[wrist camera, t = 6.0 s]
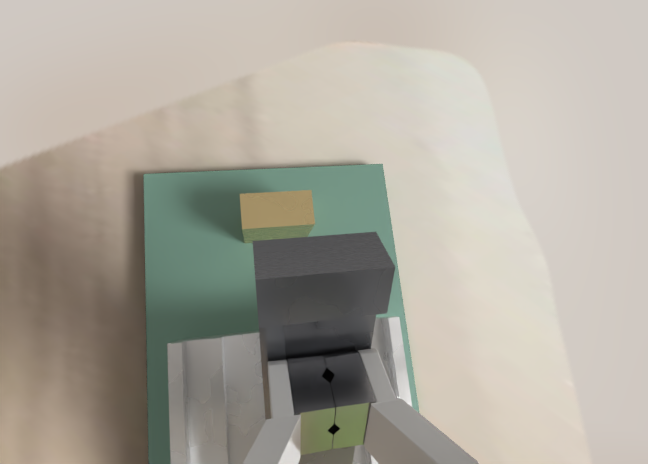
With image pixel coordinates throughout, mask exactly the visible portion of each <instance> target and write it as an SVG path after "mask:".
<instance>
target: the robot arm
mask: <svg viewBox="0 0 648 464" xmlns="http://www.w3.org/2000/svg"><path fill="white" fill-rule="evenodd" d="M268 379H269V396H270V411H271V419H266V421H265V423H264V425H263V427H262V428H261V430H260V432H259V434H258V436H257V438H256V440H255V442H254V443H253V445H252V447H251V449H250V451H249V453H248V455H247V456H246V458H245V460H244V462H243V464H298V463H299V460H300V455H305V454H310V453H315V452H320V451H325V450H330V449H336V448H343V447H350V446H357V445H364V447H365V448H366V450H367V451H368V452H369V453H370V454H371V455H372V456H373V458H374V459H375V460H376V461H377V462H378V463H379V464H478V462H477V461H476V460H475V459H474V458H473V457H471V456H470V455H469V454H468V453H467V452H465V451H464V450H463V449H462V448H461V447H459V446H458V445H457V444H456V443H455V442H453V441H452V440H451V439H450V438H449V437H447V436H446V435H445V434H444V433H442V432H441V431H440V430H439V429H438V428H436V427H435V426H434V425H433V424H432V423H430V422H429V421H428V420H427V419H426V418H424V417H423V416H422V415H421V414H420V413H418V412H417V411H416V410H415V409H414V408H412V407H411V406H410V405H409V404H408V403H406V402H405V401H404V400H403V399H396V397H395V394H394V392H393V389H392V386H391V384H390V381H389V379H388V376H387V373H386V371H385V368H384V366H383V363H382V361H381V358H380V355H379V353H378V351H377V350H376V349H375V348H372V349H365V350H358V351H357V350H354V351H347V352H340V353H333V354H326V355H323V356H315V357H305V358H295V359H287V360H286V359H285V360H277V361H268Z"/></svg>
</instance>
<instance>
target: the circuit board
mask: <svg viewBox="0 0 648 464" xmlns="http://www.w3.org/2000/svg"><path fill="white" fill-rule="evenodd" d="M301 190H311V191H312V200H313V209H314V218H315V225H314V227H313V228H312V230H311V232H310V233H309V235H308V237H312V236H325V235H338V234H351V233H365V232H376V233H377V234H378V236H379V238H380V240H381V242H382V243H383V245H384V247H385V249H386V251H387V252H388V254H389V256H390V258H391V260H392V262H393V263H394V265H395V272H394V278H393V283H392V289H391V294H390V300H389V305H388V311H387V313H385V314H377V315H376V317H388V316H397V317H399V319H400V326H401V333H402V339H403V346H404V353H405V360H406V367H407V374H408V381H409V388H410V395H411V402H412V408H414V409H415V410H416V411H417V412H418V413H419V407H418V400H417V394H416V387H415V380H414V373H413V367H412V360H411V353H410V346H409V340H408V333H407V326H406V319H405V313H404V306H403V299H402V292H401V286H400V279H399V272H398V265H397V259H396V252H395V245H394V238H393V232H392V225H391V218H390V211H389V205H388V198H387V191H386V184H385V178H384V171H383V164H368V165H344V166H321V167H297V168H273V169H250V170H226V171H202V172H179V173H155V174H144V227H145V285H146V342H147V400H148V458H149V464H171V463H170V426H169V390H168V354H167V343H171V342H174V341H178V340H182V339H190V338H198V337H207V336H216V335H224V334H233V333H241V332H250V331H258V330H259V323H258V310H257V296H256V283H255V269H254V255H253V243H244V237H243V232H242V221H241V206H240V194H245V193H264V192H283V191H301Z"/></svg>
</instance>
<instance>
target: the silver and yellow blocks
mask: <svg viewBox="0 0 648 464" xmlns="http://www.w3.org/2000/svg"><path fill="white" fill-rule="evenodd" d="M240 206H241V221H242V232H243V237H244V243H253V242H252V241H258V240H272V239H285V238H298V237H308V235H309V233H310V232H311V230H312V228H313V227H314V225H315V218H314V209H313V200H312V191H311V190H301V191H283V192H264V193H245V194H240ZM372 348H375V349H376V350H377V351H378V353H379V355H380V358H381V361H382V363H383V366H384V368H385V371H386V373H387V376H388V379H389V381H390V384H391V386H392V389H393V392H394V394H395V397H396V399H403V400H404V401H405V402H406V403H408V404H409V405H410V406H411V407H412V402H411V395H410V388H409V381H408V374H407V367H406V360H405V353H404V346H403V339H402V333H401V326H400V319H399V317H397V316H388V317H376V320H375V326H374V332H373V338H372V345H371V349H372ZM167 354H168V390H169V426H170V463H171V464H243V462H244V460H245V458H246V456H247V455H248V453H249V451H250V449H251V447H252V445H253V443H254V442H255V440H256V438H257V436H258V434H259V432H260V430H261V428H262V427H263V425H264V423H265V421H266V419H265V405H264V392H263V378H262V364H261V351H260V337H259V330H258V331H250V332H241V333H233V334H224V335H216V336H207V337H198V338H190V339H182V340H178V341H174V342H171V343H167ZM352 464H379V463H378V462H377V461H376V460H375V459H374V458H373V456H372V455H371V454H370V453H369V452H368V451H367V450H366V448H365V447H364V445H357V446H355V451H354V457H353V463H352Z"/></svg>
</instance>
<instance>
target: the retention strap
mask: <svg viewBox="0 0 648 464" xmlns="http://www.w3.org/2000/svg"><path fill="white" fill-rule="evenodd" d="M252 242H253V255H254V269H255V283H256V296H257V310H258V323H259V337H260V351H261V364H262V378H263V392H264V405H265V419H271V411H270V396H269V379H268V361H277V360H285V359H286V360H287V359H295V358H305V357H315V356H323V355H326V354H333V353H340V352H347V351H354V350H357V351H358V350H365V349H371V345H372V338H373V332H374V326H375V320H376V315H377V314H385V313H387V311H388V305H389V300H390V294H391V289H392V283H393V278H394V272H395V265H394V263H393V262H392V260H391V258H390V256H389V254H388V252H387V251H386V249H385V247H384V245H383V243H382V242H381V240H380V238H379V236H378V234H377V233H376V232H365V233H351V234H338V235H325V236H312V237H298V238H285V239H272V240H258V241H252ZM354 451H355V446H350V447H343V448H336V449H330V450H325V451H320V452H315V453H310V454H305V455H300V460H299V463H298V464H352V463H353V457H354Z"/></svg>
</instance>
